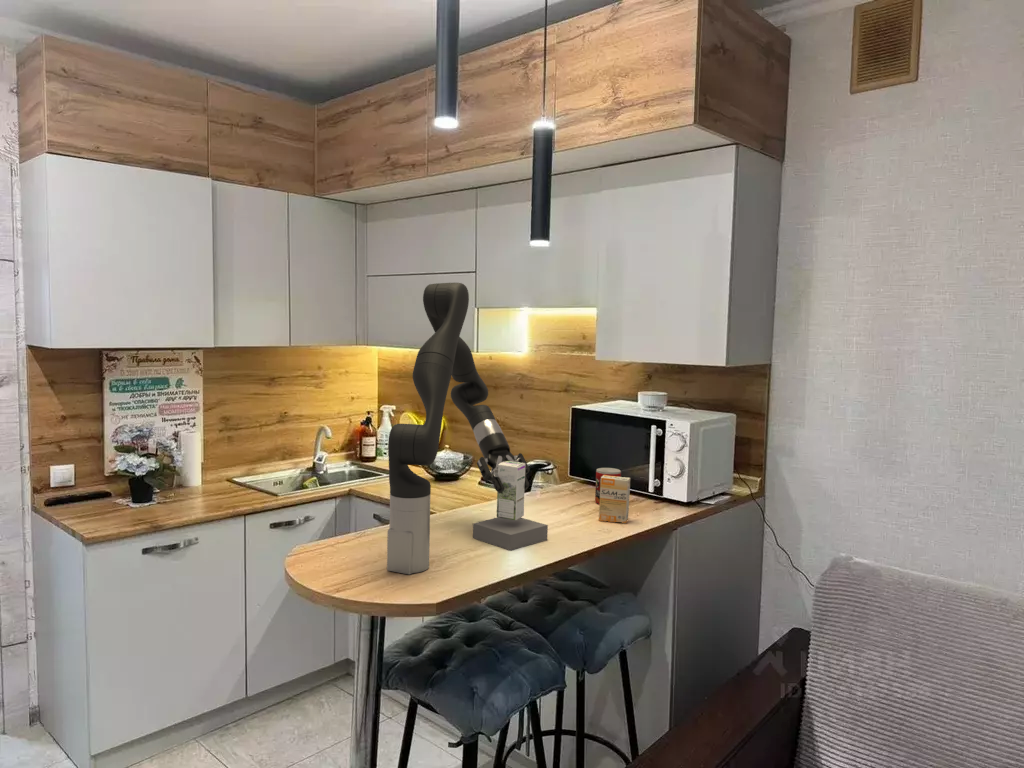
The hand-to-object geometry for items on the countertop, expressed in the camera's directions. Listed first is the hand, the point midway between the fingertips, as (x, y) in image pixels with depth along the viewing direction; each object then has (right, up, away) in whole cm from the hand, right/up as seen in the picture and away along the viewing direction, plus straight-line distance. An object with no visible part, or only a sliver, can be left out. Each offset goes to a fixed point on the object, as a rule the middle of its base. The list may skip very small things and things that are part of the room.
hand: (514, 489), depth 187 cm
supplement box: (+29, -13, +23) cm, 40 cm away
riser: (-1, -13, +2) cm, 14 cm away
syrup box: (-1, -8, +2) cm, 8 cm away
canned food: (+30, -11, +45) cm, 55 cm away
